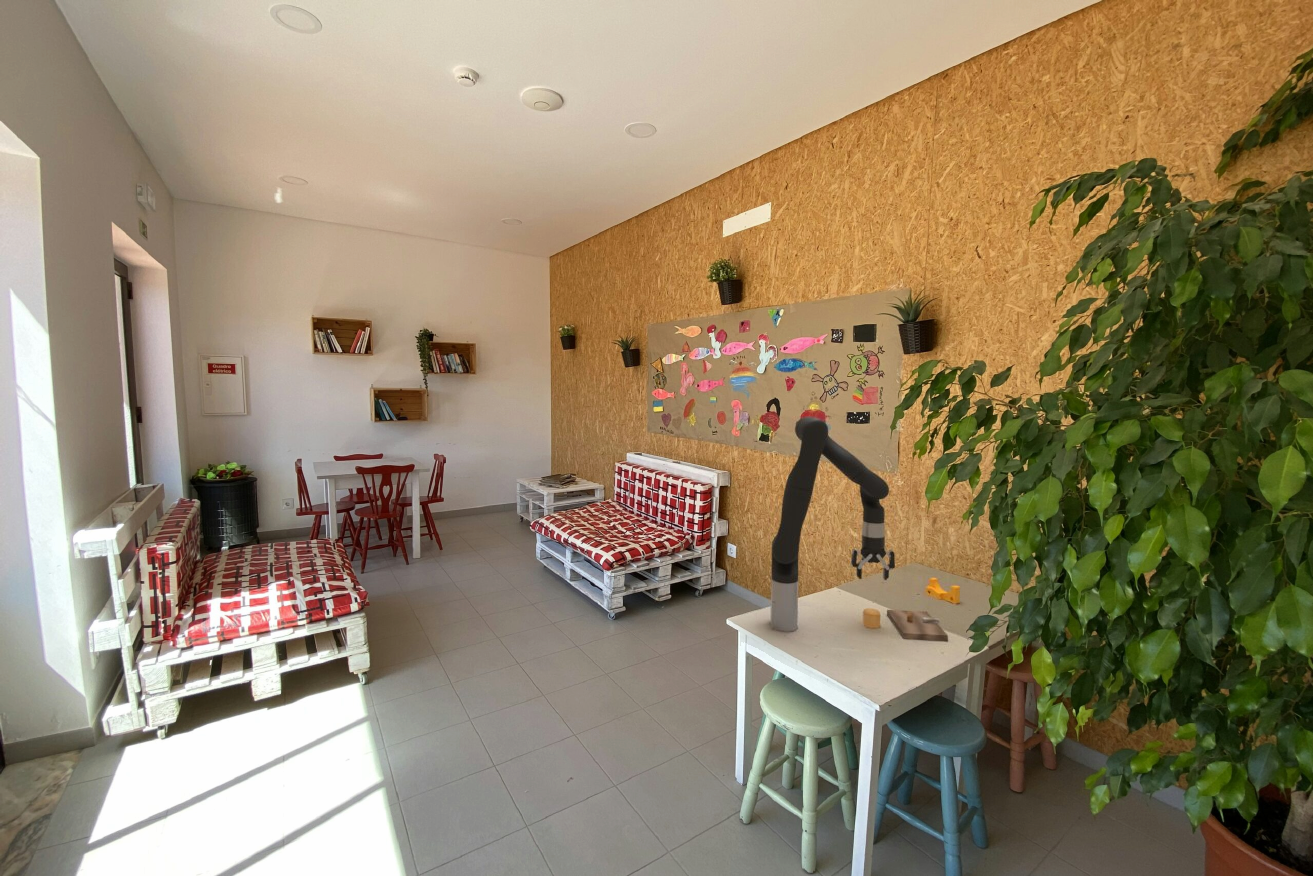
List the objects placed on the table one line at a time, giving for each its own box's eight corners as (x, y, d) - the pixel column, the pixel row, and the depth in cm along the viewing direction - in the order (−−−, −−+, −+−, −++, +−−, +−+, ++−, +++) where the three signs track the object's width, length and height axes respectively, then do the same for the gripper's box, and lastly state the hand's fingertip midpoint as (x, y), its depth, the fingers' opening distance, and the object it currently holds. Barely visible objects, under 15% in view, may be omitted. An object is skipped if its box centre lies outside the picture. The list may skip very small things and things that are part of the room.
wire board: (903, 638, 181) (903, 623, 181) (886, 614, 201) (887, 600, 200) (949, 641, 179) (949, 625, 178) (928, 616, 199) (928, 602, 198)
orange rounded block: (865, 627, 190) (865, 614, 189) (861, 621, 195) (861, 608, 195) (881, 628, 189) (881, 614, 188) (877, 622, 194) (877, 608, 194)
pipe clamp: (925, 594, 222) (926, 579, 221) (933, 592, 223) (933, 577, 223) (951, 604, 211) (952, 588, 210) (959, 602, 212) (960, 587, 212)
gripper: (854, 536, 187) (853, 581, 188) (897, 537, 185) (896, 583, 186) (850, 531, 194) (849, 574, 195) (891, 532, 192) (890, 576, 193)
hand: (872, 578), depth 191 cm, fingers open, 8 cm apart
